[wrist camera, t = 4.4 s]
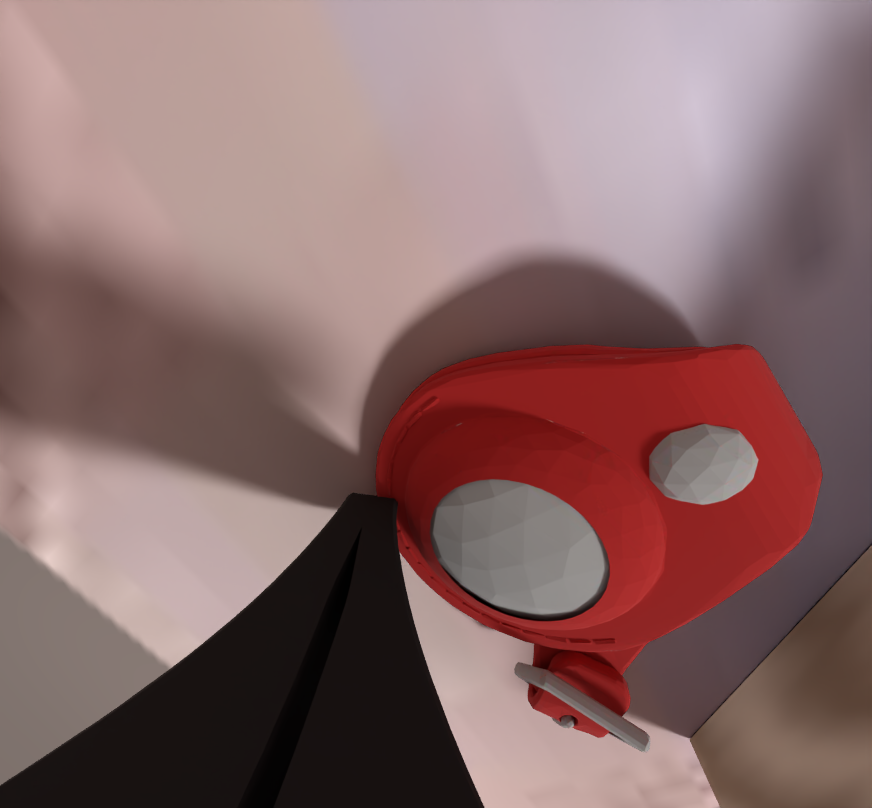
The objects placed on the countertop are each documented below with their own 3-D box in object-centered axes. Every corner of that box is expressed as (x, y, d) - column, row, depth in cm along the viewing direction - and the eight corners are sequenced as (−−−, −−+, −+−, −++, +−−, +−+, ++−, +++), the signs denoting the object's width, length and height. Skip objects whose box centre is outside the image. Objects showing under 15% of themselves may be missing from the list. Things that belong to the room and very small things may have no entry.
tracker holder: (285, 481, 10) (708, 191, 4) (373, 411, 13) (658, 210, 8) (542, 797, 11) (1106, 872, 6) (557, 654, 15) (905, 618, 9)
